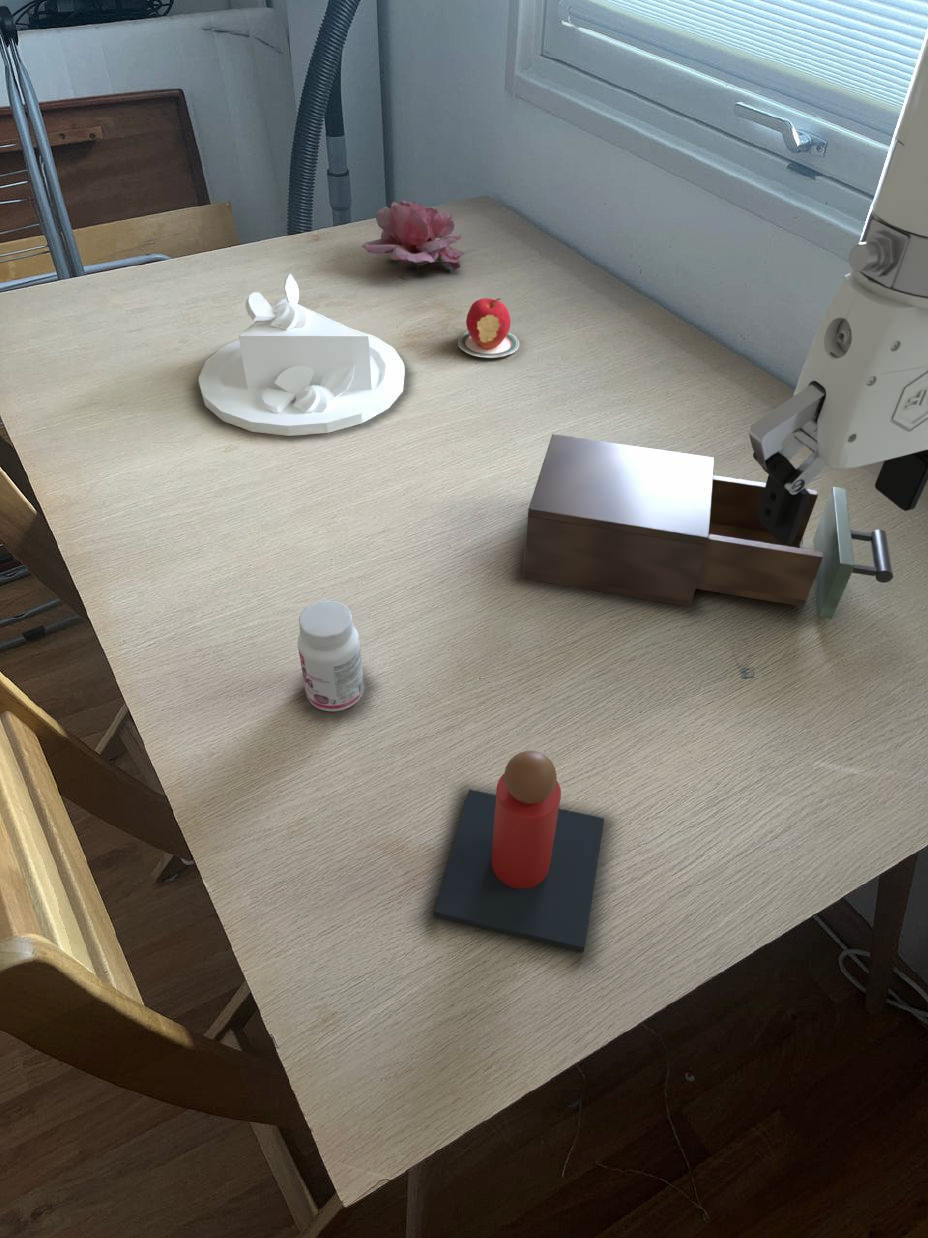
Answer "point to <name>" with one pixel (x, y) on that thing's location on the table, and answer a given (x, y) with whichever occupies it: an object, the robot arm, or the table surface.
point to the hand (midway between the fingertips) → (834, 514)
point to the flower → (415, 235)
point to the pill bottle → (330, 656)
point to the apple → (488, 330)
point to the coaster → (532, 912)
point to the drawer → (783, 550)
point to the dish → (299, 372)
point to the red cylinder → (525, 820)
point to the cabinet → (620, 519)
